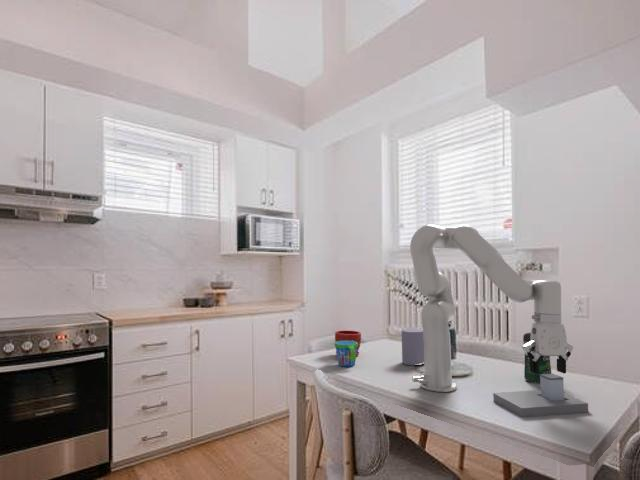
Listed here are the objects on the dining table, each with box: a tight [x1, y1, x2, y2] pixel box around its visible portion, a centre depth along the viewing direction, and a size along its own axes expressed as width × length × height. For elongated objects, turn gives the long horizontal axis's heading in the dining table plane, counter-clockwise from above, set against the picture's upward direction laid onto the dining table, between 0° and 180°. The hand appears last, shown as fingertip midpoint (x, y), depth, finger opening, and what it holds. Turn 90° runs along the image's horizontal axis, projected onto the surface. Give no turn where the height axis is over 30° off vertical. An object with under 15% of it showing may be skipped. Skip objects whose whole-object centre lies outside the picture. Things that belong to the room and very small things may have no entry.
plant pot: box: [334, 330, 362, 357], centre depth 193 cm, size 13×13×12 cm
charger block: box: [539, 373, 565, 401], centre depth 122 cm, size 5×5×9 cm
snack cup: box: [334, 340, 358, 367], centre depth 175 cm, size 16×10×10 cm
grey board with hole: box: [492, 389, 589, 418], centre depth 121 cm, size 22×14×2 cm, turn 99°
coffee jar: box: [522, 332, 552, 384], centre depth 148 cm, size 10×8×19 cm
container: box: [401, 328, 424, 367], centre depth 177 cm, size 10×10×15 cm
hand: (547, 372), depth 123 cm, fingers open, 9 cm apart
